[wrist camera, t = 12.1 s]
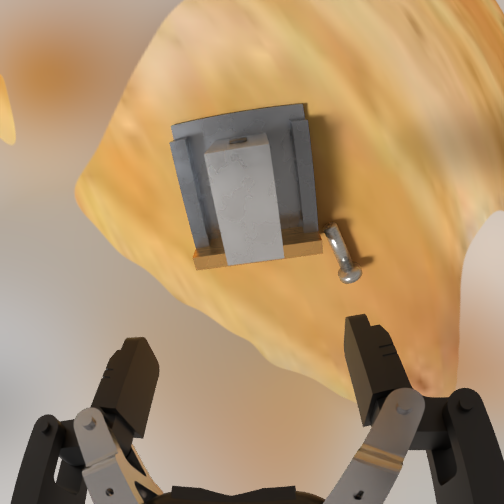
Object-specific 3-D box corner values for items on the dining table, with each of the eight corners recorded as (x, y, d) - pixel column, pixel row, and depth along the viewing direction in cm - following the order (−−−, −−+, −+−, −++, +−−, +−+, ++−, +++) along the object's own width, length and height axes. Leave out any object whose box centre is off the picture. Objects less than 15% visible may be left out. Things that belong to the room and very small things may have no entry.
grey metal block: (214, 138, 28) (203, 151, 22) (265, 130, 28) (268, 140, 22) (232, 231, 33) (227, 265, 27) (278, 224, 33) (284, 258, 27)
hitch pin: (316, 228, 33) (321, 240, 31) (339, 217, 33) (345, 228, 30) (337, 273, 36) (343, 287, 34) (358, 263, 36) (365, 276, 33)
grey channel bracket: (171, 125, 28) (160, 130, 24) (302, 103, 27) (309, 105, 23) (201, 251, 35) (196, 270, 31) (315, 235, 34) (322, 253, 30)
